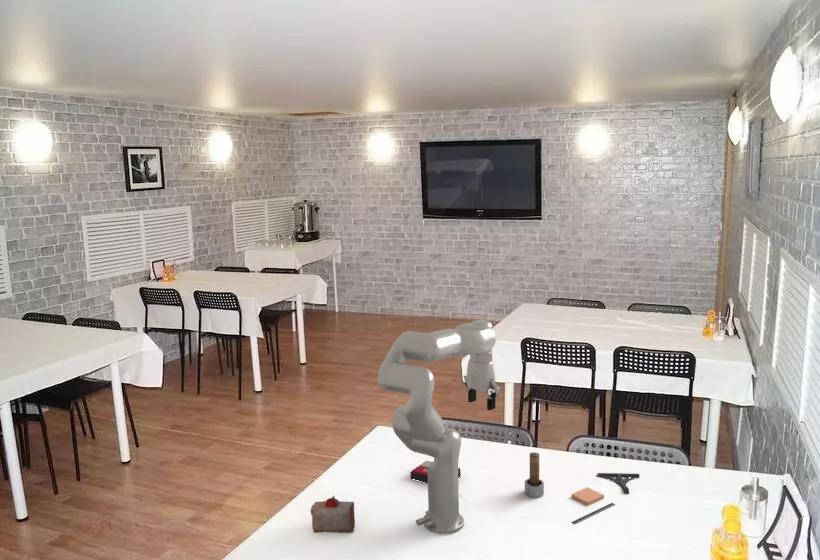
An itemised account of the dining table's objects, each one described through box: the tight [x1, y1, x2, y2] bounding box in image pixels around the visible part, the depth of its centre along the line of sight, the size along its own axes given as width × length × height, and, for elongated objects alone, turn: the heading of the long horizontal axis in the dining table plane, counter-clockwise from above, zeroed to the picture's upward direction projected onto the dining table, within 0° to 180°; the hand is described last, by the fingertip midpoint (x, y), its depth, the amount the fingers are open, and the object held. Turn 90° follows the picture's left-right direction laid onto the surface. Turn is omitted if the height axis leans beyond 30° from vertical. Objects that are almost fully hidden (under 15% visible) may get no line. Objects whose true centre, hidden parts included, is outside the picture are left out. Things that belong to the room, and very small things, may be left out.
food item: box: [309, 495, 356, 534], centre depth 201 cm, size 14×8×10 cm, turn 86°
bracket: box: [597, 472, 640, 495], centre depth 224 cm, size 14×15×3 cm
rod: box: [529, 451, 540, 486], centre depth 217 cm, size 3×3×14 cm
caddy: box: [524, 477, 545, 499], centre depth 218 cm, size 6×6×5 cm
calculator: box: [409, 460, 462, 484], centre depth 234 cm, size 11×4×15 cm
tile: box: [571, 487, 605, 506], centre depth 214 cm, size 2×7×8 cm
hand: (481, 405), depth 220 cm, fingers open, 9 cm apart
